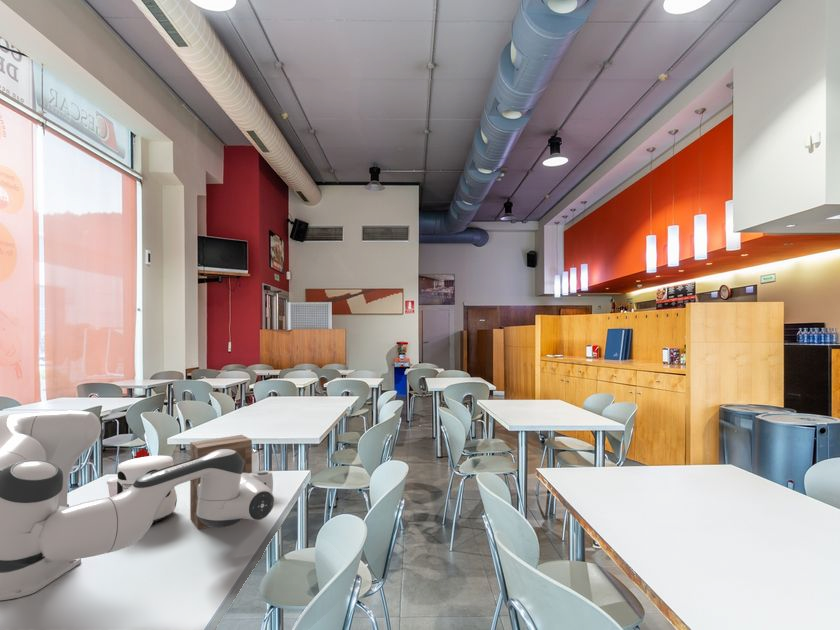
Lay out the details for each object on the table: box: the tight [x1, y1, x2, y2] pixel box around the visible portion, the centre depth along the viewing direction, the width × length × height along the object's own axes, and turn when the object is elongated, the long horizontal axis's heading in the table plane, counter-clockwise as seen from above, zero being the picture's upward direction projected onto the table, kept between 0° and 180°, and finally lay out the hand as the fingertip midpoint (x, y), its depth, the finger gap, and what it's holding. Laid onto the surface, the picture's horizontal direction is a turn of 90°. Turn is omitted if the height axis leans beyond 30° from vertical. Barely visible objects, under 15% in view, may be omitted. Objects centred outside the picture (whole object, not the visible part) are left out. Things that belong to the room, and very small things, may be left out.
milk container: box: [117, 455, 178, 523], centre depth 147 cm, size 17×17×18 cm
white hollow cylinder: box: [252, 449, 260, 473], centre depth 168 cm, size 7×7×15 cm
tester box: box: [189, 434, 253, 530], centre depth 147 cm, size 10×16×24 cm, turn 128°
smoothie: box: [106, 464, 119, 497], centre depth 158 cm, size 6×6×14 cm
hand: (228, 478), depth 141 cm, fingers closed, pressing on terracotta plug
